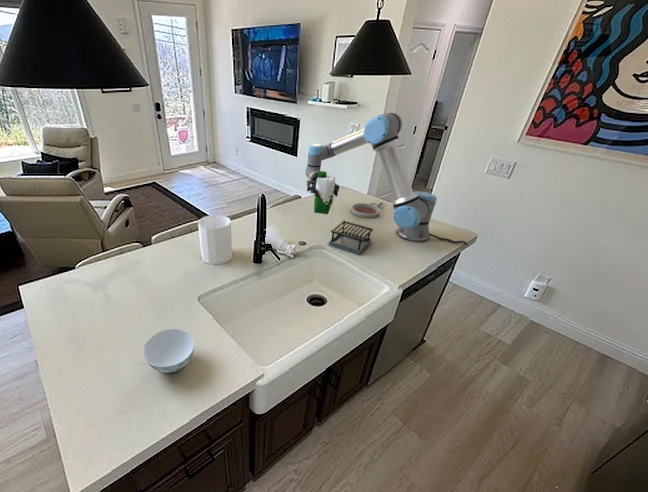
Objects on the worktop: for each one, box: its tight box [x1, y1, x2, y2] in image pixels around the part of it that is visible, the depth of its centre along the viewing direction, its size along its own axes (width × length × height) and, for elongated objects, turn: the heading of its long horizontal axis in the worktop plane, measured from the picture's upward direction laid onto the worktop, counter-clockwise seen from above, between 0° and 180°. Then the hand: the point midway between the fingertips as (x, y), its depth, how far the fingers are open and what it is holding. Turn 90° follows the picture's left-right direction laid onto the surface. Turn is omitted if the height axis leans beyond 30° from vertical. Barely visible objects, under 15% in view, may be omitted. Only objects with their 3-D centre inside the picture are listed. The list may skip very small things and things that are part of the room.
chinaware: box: [142, 328, 195, 374], centre depth 100 cm, size 15×15×8 cm
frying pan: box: [350, 201, 383, 219], centre depth 201 cm, size 17×3×28 cm
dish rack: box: [328, 220, 374, 255], centre depth 164 cm, size 16×15×8 cm
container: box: [197, 214, 233, 265], centre depth 151 cm, size 14×14×18 cm
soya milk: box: [313, 170, 336, 215], centre depth 164 cm, size 9×9×20 cm
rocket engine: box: [265, 224, 301, 259], centre depth 158 cm, size 12×12×18 cm
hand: (326, 193), depth 160 cm, fingers closed on soya milk, 9 cm apart
